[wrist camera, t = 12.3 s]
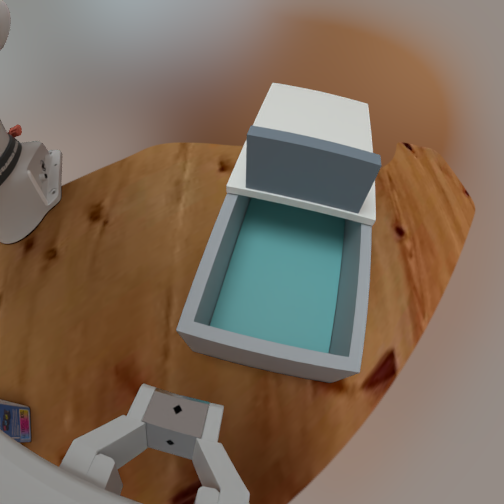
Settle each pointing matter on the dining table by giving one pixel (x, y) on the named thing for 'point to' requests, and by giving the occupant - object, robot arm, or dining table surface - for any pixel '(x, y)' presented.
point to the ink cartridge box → (15, 421)
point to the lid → (310, 154)
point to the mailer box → (281, 290)
